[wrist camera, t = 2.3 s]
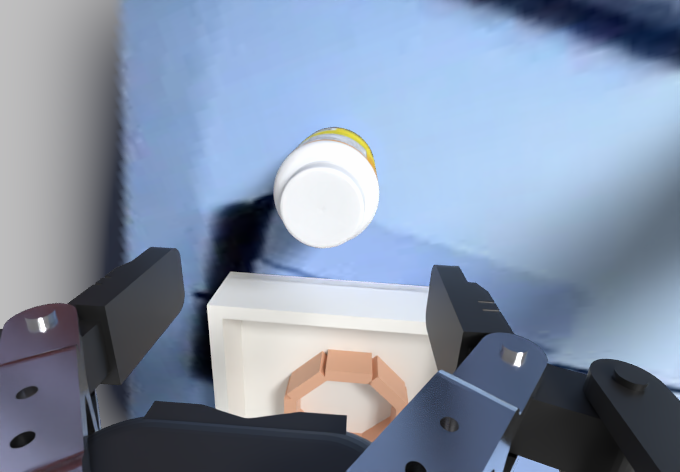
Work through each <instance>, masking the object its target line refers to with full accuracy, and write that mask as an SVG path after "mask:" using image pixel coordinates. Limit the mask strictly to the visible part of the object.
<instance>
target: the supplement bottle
mask: <svg viewBox="0 0 680 472" xmlns="http://www.w3.org/2000/svg"><path fill="white" fill-rule="evenodd" d="M274 201H275V206H276V209H277V211H278V214H279V216H280V218H281V219H282V221H283V223H284V225H285V227H286V228H287V230H288V231H289V232H290V233H291V235H292V236H293V237H295V238H296V239H297V240H299V241H300V242H302V243H304V244H306V245H308V246H312V247H316V248H331V247H335V246H338V245H341V244H343V243H344V242H346V241H348V240H351V239H353V238H354V237H356V236H357V235H359V234H360V233H361V232H362V231H363V230H365V229H366V227H367V226H368V225H369V224H370V222H371V221H372V219H373V217H374V215H375V213H376V210H377V207H378V202H379V185H378V179H377V174H376V168H375V162H374V158H373V154H372V152H371V150H370V148H369V146H368V145H367V143H366V142H365V141H364V140H363V139H362V138H361V137H360V136H359V135H357V134H356V133H354V132H352V131H350V130H348V129H344V128H339V127H330V128H324V129H321V130H319V131H316V132H315V133H313V134H312V135H310V136H309V137H308V138H307V139H305V140H304V141H303V142H302V143H301V144H300V145H299V146H298V147H297V148H296V149H295V150H294V151H293V152H291V154H289V155H288V157H287V158H286V159H285V160H284V161H283V163H282V164H281V166H280V168H279V170H278V172H277V175H276V178H275V182H274Z"/></svg>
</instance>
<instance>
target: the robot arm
mask: <svg viewBox="0 0 680 472" xmlns="http://www.w3.org/2000/svg"><path fill="white" fill-rule="evenodd" d="M184 297H185V293H184V284H183V275H182V267H181V258H180V253H179V251H178V250H177V249H176V248H161V247H150V248H149V249H147V250H146V251H145V252H143V253H142V254H141V255H139V256H138V257H137V258H135V259H134V260H133V261H131V262H129V263H126V264H124V265H121V266H119V267H117V268H115V269H114V270H112V271H111V272H110V273H108V274H107V275H106V276H105V278H101V279H100V280H99V281H97V282H96V284H95V285H92V286H91V287H89V288H88V289H87V290H85V291H84V292H83V293H81V294H80V295H78V296H77V297H76V298H74V299H73V300H72V301H70V302H69V303H67V304H64V303H52V304H45V305H41V306H36V307H33V308H30V309H27V310H25V311H22V312H21V313H18V314H16V315H15V316H13V317H12V318H10V319H9V320H8V321H7V322H6V323H5V324H4V327H3V329H0V472H513V471H514V469H515V467H516V465H517V462H518V460H519V458H520V456H522V457H525V458H527V459H530V460H533V461H536V462H539V463H542V464H545V465H547V466H550V467H553V468H556V469H559V471H560V472H680V400H679V399H678V398H677V397H676V396H675V395H674V394H673V393H672V392H671V391H670V390H669V389H668V388H667V387H666V386H665V385H664V384H663V383H662V382H661V381H660V380H659V379H658V378H656V377H655V376H653V375H652V374H650V373H649V372H647V371H645V370H643V369H641V368H639V367H637V366H634V365H632V364H629V363H626V362H623V361H619V360H613V359H599V360H596V361H594V362H593V363H592V364H591V365H590V368H589V371H588V374H587V375H586V374H582V373H578V372H574V371H571V370H567V369H563V368H559V367H556V366H553V365H550V364H548V363H547V362H548V361H547V356H546V354H545V353H544V351H543V350H542V349H541V348H540V347H538V346H537V345H536V344H534V343H533V342H531V341H529V340H528V339H525V338H523V337H520V336H518V335H515V334H514V333H513V331H512V330H511V328H510V326H509V325H508V323H507V322H506V320H505V318H504V317H503V315H502V313H501V312H499V309H498V307H497V305H496V304H494V301H493V299H492V297H491V296H490V294H489V292H488V291H486V290H485V289H484V288H482V287H481V286H479V285H478V284H477V283H471V282H467V280H466V278H465V276H464V275H463V273H462V271H461V269H460V267H459V266H446V265H434V266H433V268H432V272H431V279H430V286H429V293H428V299H427V306H426V329H427V333H428V336H429V340H430V344H431V348H432V351H433V355H434V359H435V362H436V366H437V370H438V372H437V373H436V374H435V375H434V376H433V377H432V378H431V379H430V380H429V381H428V382H427V384H426V385H425V386H424V387H423V388H422V389H421V390H420V391H419V392H418V393H417V394H416V396H415V397H414V398H413V399H412V400H411V401H410V402H409V403H408V404H407V405H406V406H405V408H404V409H403V410H402V411H401V412H400V413H399V414H398V415H397V416H396V417H395V418H394V420H393V421H392V422H391V423H390V424H389V425H388V426H387V427H386V428H385V429H384V430H383V431H382V433H381V434H380V435H379V436H378V437H377V438H376V439H375V440H374V441H373V442H370V441H369V440H367V439H365V438H363V437H360V436H358V435H356V434H353V433H350V432H347V431H346V427H347V415H336V414H322V413H309V412H294V413H286V414H278V415H271V416H263V417H256V418H243V417H240V416H236V415H233V414H230V413H227V412H224V411H221V410H218V409H214V408H211V407H208V406H205V405H202V404H189V403H175V402H162V401H155V402H154V403H153V405H152V406H151V408H150V409H149V411H148V412H147V414H146V415H145V417H139V418H135V419H130V420H126V421H123V422H119V423H116V424H113V425H111V426H108V427H106V428H103V429H101V421H100V415H99V406H98V399H97V394H96V390H95V389H96V387H97V386H98V385H99V384H112V385H121V384H122V383H123V382H124V381H125V379H126V378H127V377H128V376H129V375H130V373H131V372H132V371H133V370H134V368H135V367H136V366H137V365H138V363H139V362H140V361H141V360H142V358H143V357H144V356H145V355H146V353H147V352H148V351H149V350H150V349H151V347H152V346H153V345H154V344H155V342H156V341H157V340H158V339H159V337H160V336H161V335H162V334H163V332H164V331H165V330H166V329H167V328H168V326H169V325H170V324H171V323H172V321H173V320H174V319H175V318H176V316H177V315H178V314H179V313H180V311H181V309H182V307H183V303H184Z"/></svg>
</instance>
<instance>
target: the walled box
mask: <svg viewBox="0 0 680 472" xmlns="http://www.w3.org/2000/svg"><path fill="white" fill-rule="evenodd" d="M428 293H429V287H428V286H415V285H402V284H388V283H375V282H362V281H349V280H335V279H322V278H309V277H296V276H283V275H269V274H256V273H243V272H230V273H229V274H228V276H227V277H226V279H225V280H224V281H223V283H222V284H221V286H220V287H219V288H218V290H217V291H216V293H215V294H214V295H213V297H212V298H211V300H210V301H209V303H208V304H207V313H208V325H209V336H210V348H211V360H212V371H213V383H214V395H215V407H216V409H218V410H221V411H224V412H227V413H230V414H233V415H236V416H240V417H243V418H256V417H263V416H271V415H278V414H286V413H294V412H309V413H322V414H336V415H347V427H346V431H347V432H350V433H353V434H356V435H358V436H360V437H363V438H365V439H367V440H369V441H370V442H373V441H374V440H375V439H376V438H377V437H378V436H379V435H380V434H381V433H382V431H383V430H384V429H385V428H386V427H387V426H388V425H389V424H390V423H391V422H392V421H393V420H394V418H395V417H396V416H397V415H398V414H399V413H400V412H401V411H402V410H403V409H404V408H405V406H406V405H407V404H408V403H409V402H410V401H411V400H412V399H413V398H414V397H415V396H416V394H417V393H418V392H419V391H420V390H421V389H422V388H423V387H424V386H425V385H426V384H427V382H428V381H429V380H430V379H431V378H432V377H433V376H434V375H435V374H436V373H437V372H438V370H437V366H436V362H435V359H434V355H433V351H432V348H431V344H430V340H429V336H428V333H427V329H426V306H427V299H428Z"/></svg>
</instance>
